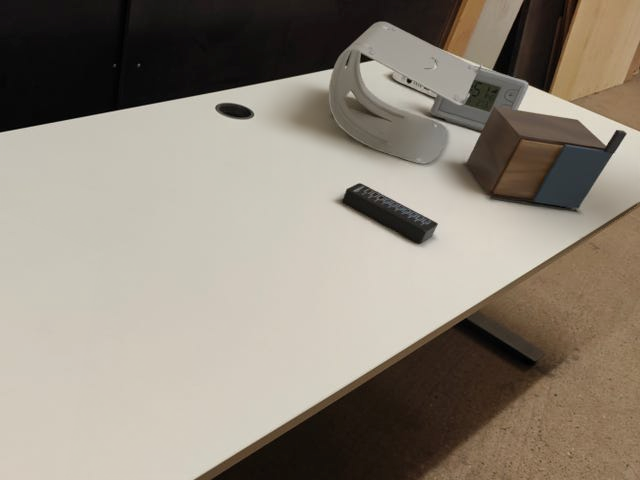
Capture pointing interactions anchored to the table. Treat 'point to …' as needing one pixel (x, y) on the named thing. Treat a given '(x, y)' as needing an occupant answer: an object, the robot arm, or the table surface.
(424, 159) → the laptop stand
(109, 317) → the table surface
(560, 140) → the cupboard
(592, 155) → the sliding door
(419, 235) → the multiport hub
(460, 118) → the digital clock
